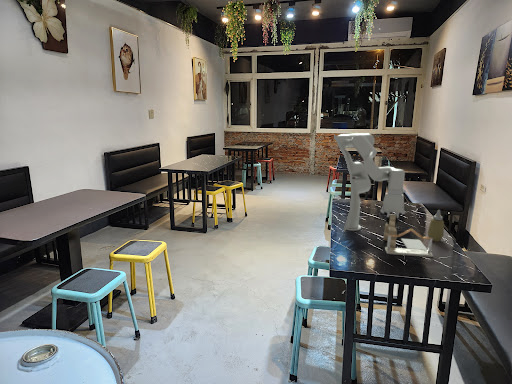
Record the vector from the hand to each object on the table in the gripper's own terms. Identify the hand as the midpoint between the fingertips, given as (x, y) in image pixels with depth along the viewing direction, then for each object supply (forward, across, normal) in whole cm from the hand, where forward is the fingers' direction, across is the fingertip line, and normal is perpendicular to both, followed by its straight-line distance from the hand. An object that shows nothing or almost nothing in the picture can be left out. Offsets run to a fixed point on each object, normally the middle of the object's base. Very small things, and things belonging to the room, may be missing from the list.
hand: (391, 223), depth 181 cm
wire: (+12, -7, +12) cm, 18 cm away
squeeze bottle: (+12, -27, -10) cm, 31 cm away
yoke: (+12, 0, 0) cm, 12 cm away
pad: (+12, -13, 0) cm, 17 cm away
